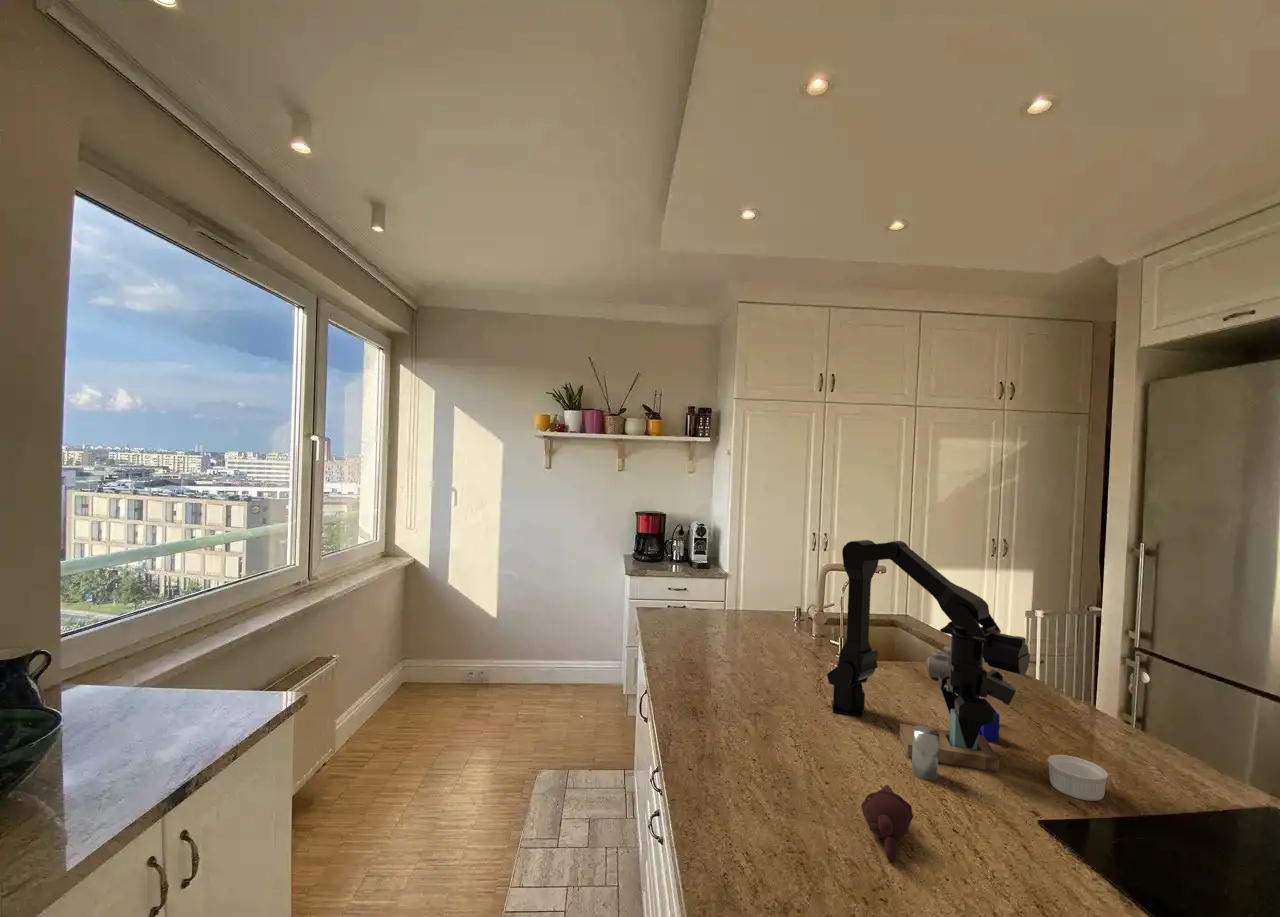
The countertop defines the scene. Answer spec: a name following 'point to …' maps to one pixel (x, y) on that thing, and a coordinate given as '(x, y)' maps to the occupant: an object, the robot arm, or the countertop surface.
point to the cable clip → (991, 730)
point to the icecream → (887, 818)
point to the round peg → (925, 753)
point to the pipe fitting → (939, 662)
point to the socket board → (955, 750)
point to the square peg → (957, 733)
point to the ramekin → (1077, 777)
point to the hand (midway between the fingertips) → (963, 737)
